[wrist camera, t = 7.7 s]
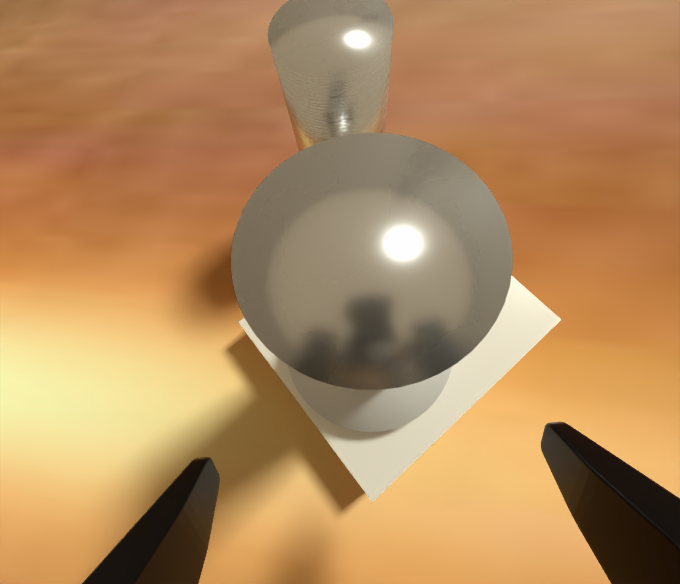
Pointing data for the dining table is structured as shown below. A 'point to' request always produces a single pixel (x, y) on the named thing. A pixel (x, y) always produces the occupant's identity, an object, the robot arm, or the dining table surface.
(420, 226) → the shiny silver cylinder
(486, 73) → the dining table surface
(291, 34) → the cylinder
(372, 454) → the scale
